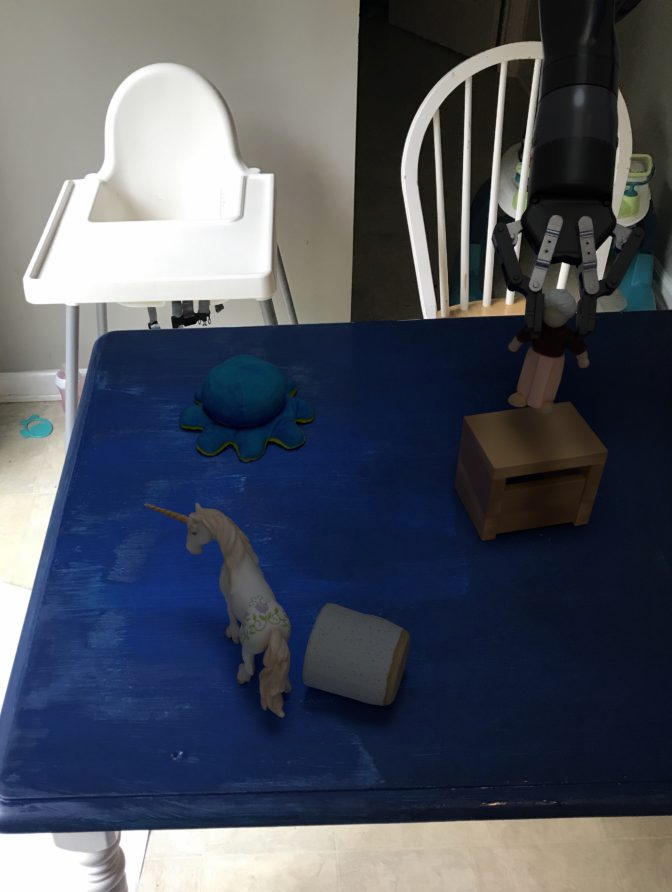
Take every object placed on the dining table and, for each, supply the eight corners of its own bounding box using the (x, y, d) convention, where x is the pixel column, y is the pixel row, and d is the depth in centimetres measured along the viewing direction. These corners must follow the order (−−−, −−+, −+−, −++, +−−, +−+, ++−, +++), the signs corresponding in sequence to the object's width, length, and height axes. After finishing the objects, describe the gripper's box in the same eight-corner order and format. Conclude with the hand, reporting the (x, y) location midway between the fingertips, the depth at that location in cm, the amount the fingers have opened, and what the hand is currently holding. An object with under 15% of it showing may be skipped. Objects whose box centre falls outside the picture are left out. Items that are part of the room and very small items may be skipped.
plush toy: (162, 452, 102) (152, 395, 96) (205, 376, 114) (199, 322, 108) (295, 469, 98) (292, 411, 93) (325, 390, 110) (324, 334, 105)
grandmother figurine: (495, 409, 83) (516, 294, 75) (501, 387, 86) (521, 274, 77) (574, 422, 81) (605, 306, 73) (577, 400, 84) (607, 285, 75)
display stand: (553, 472, 96) (570, 401, 90) (588, 524, 90) (608, 451, 83) (454, 487, 95) (463, 416, 88) (482, 541, 88) (494, 468, 82)
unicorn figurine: (223, 570, 87) (210, 471, 78) (340, 694, 75) (341, 594, 66) (163, 602, 84) (143, 503, 75) (275, 736, 72) (267, 637, 63)
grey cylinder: (390, 726, 72) (395, 671, 67) (301, 702, 74) (299, 646, 69) (418, 637, 79) (424, 581, 74) (336, 616, 81) (337, 561, 76)
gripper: (641, 173, 79) (627, 352, 79) (490, 169, 81) (475, 343, 81) (666, 134, 72) (650, 331, 71) (499, 131, 74) (482, 322, 73)
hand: (557, 336), depth 76 cm, fingers closed on grandmother figurine, 3 cm apart
